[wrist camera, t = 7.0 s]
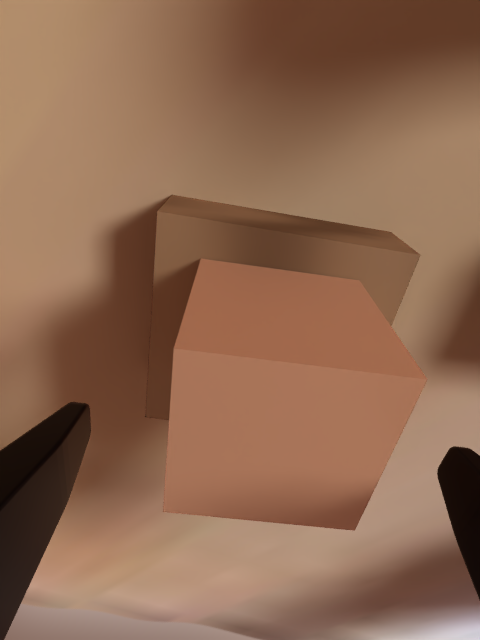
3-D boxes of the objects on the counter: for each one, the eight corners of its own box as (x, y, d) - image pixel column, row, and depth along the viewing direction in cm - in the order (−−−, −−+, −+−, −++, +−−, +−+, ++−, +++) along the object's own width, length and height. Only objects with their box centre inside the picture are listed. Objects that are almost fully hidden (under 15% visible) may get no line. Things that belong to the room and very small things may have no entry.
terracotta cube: (359, 280, 12) (427, 379, 7) (320, 401, 14) (354, 530, 10) (200, 258, 11) (174, 348, 7) (188, 386, 14) (163, 511, 9)
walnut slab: (387, 228, 14) (420, 255, 11) (328, 393, 18) (343, 441, 15) (173, 192, 13) (157, 211, 11) (160, 370, 17) (145, 416, 15)
